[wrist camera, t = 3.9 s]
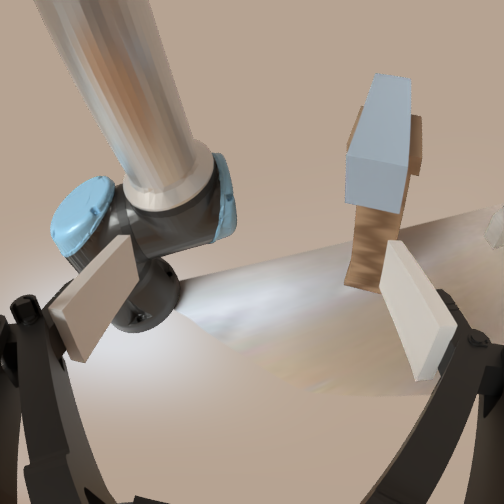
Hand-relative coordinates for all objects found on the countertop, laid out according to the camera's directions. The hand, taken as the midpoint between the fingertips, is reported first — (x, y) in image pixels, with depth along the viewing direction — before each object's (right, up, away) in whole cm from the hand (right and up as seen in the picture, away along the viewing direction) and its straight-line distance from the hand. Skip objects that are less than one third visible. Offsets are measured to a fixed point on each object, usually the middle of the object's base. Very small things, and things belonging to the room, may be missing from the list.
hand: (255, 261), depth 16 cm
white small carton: (+49, +3, +33) cm, 59 cm away
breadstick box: (+12, +10, +10) cm, 19 cm away
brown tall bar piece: (+18, -5, +33) cm, 38 cm away
